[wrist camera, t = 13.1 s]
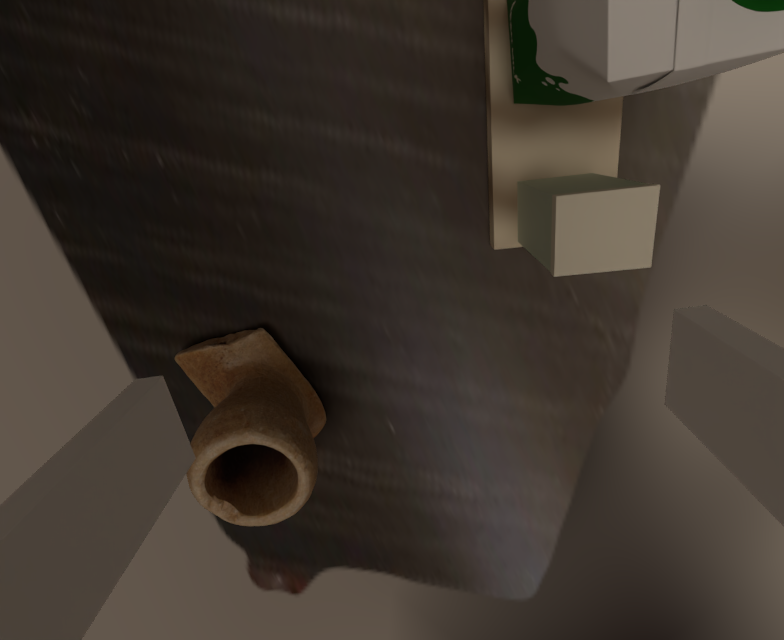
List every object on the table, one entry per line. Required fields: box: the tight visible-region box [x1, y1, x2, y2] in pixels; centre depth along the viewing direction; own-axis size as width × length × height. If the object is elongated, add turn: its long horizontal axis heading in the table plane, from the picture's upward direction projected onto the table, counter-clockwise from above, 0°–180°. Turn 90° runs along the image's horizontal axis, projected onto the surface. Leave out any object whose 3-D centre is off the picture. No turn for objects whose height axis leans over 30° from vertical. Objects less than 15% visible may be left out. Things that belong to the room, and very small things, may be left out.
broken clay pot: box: [175, 328, 326, 526], centre depth 40 cm, size 15×12×15 cm
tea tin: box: [517, 173, 660, 277], centre depth 32 cm, size 5×6×10 cm
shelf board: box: [483, 0, 623, 250], centre depth 34 cm, size 22×10×4 cm, turn 6°
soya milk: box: [507, 0, 784, 106], centre depth 23 cm, size 9×9×20 cm
